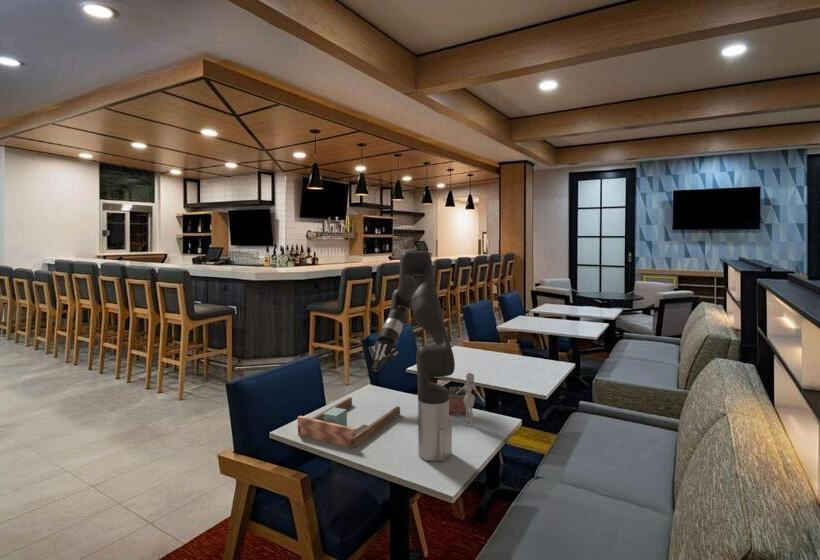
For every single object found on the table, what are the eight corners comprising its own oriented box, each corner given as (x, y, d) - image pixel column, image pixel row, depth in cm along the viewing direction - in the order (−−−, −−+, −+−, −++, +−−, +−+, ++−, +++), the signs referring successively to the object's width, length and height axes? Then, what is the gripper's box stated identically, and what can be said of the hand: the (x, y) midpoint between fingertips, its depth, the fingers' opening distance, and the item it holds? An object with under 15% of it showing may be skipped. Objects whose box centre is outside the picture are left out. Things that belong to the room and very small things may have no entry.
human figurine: (452, 421, 163) (452, 371, 161) (458, 418, 165) (458, 369, 164) (480, 431, 155) (481, 378, 153) (487, 427, 157) (487, 376, 155)
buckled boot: (469, 412, 171) (469, 385, 170) (469, 415, 167) (469, 389, 166) (447, 411, 171) (447, 385, 170) (447, 415, 168) (447, 388, 167)
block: (347, 432, 155) (346, 409, 154) (337, 439, 150) (336, 416, 149) (334, 429, 157) (334, 407, 156) (324, 437, 152) (323, 413, 151)
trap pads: (374, 428, 158) (374, 426, 158) (361, 437, 151) (361, 436, 151) (331, 418, 166) (331, 417, 166) (317, 427, 159) (317, 426, 159)
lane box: (400, 414, 169) (399, 398, 169) (353, 448, 143) (353, 429, 143) (349, 404, 180) (349, 389, 179) (298, 434, 154) (297, 416, 153)
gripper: (372, 325, 185) (356, 363, 175) (402, 328, 179) (386, 367, 169) (380, 335, 190) (364, 373, 180) (408, 338, 184) (394, 377, 174)
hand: (375, 370), depth 175 cm, fingers closed
